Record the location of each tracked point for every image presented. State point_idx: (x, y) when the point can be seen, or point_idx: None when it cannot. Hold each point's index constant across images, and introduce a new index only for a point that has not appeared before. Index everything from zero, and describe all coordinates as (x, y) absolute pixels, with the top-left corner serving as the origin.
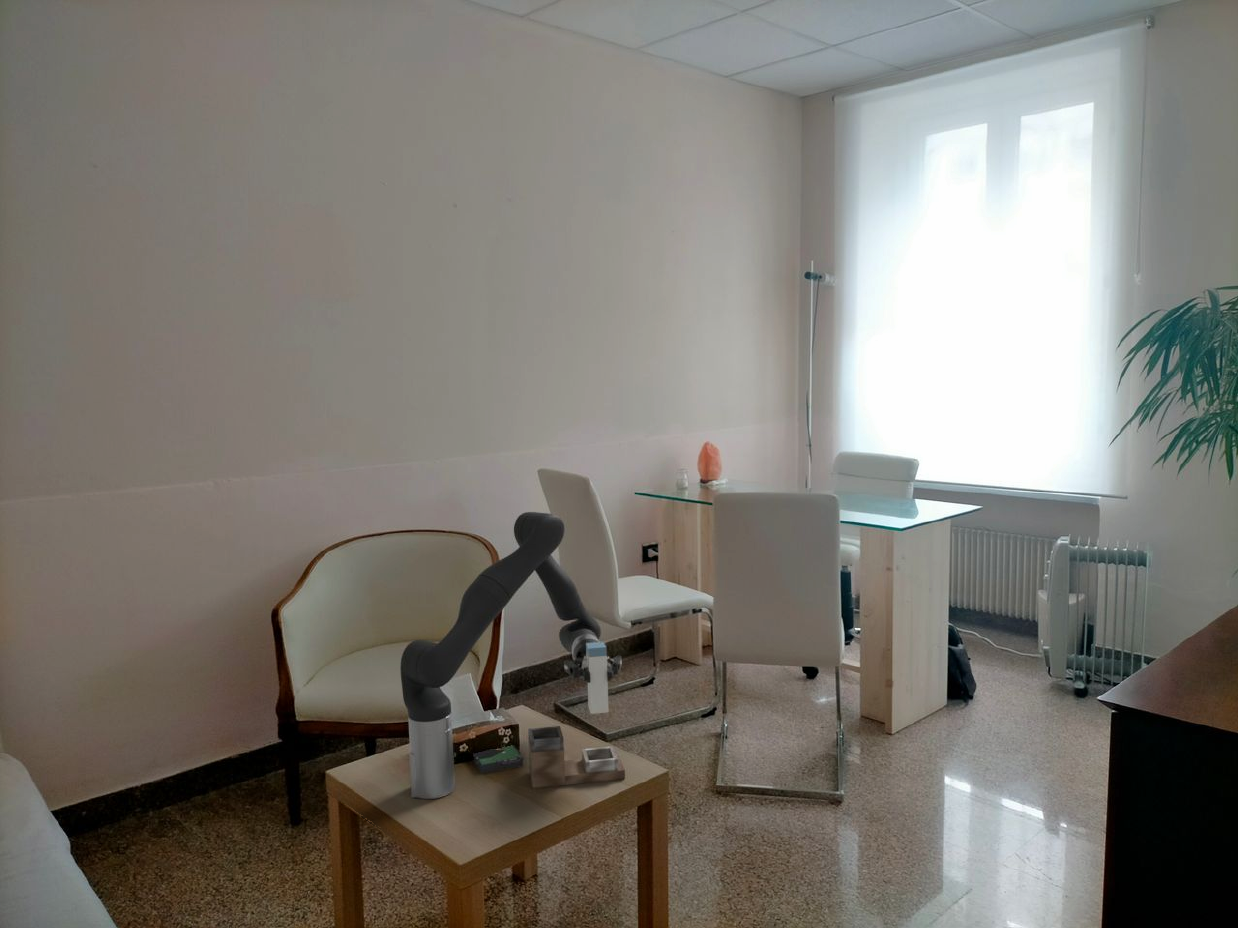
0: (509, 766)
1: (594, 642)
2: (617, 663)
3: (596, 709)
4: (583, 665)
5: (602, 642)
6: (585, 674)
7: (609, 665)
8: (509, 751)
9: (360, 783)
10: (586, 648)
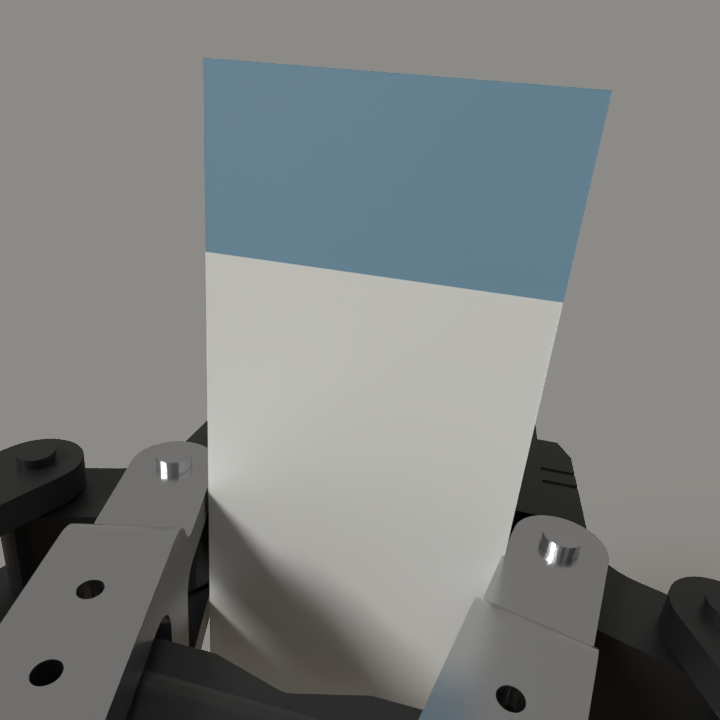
0: None
1: (402, 77)
2: (26, 446)
3: None
4: (566, 600)
5: (252, 68)
6: (544, 445)
7: (179, 441)
8: None
9: None
10: (577, 207)
